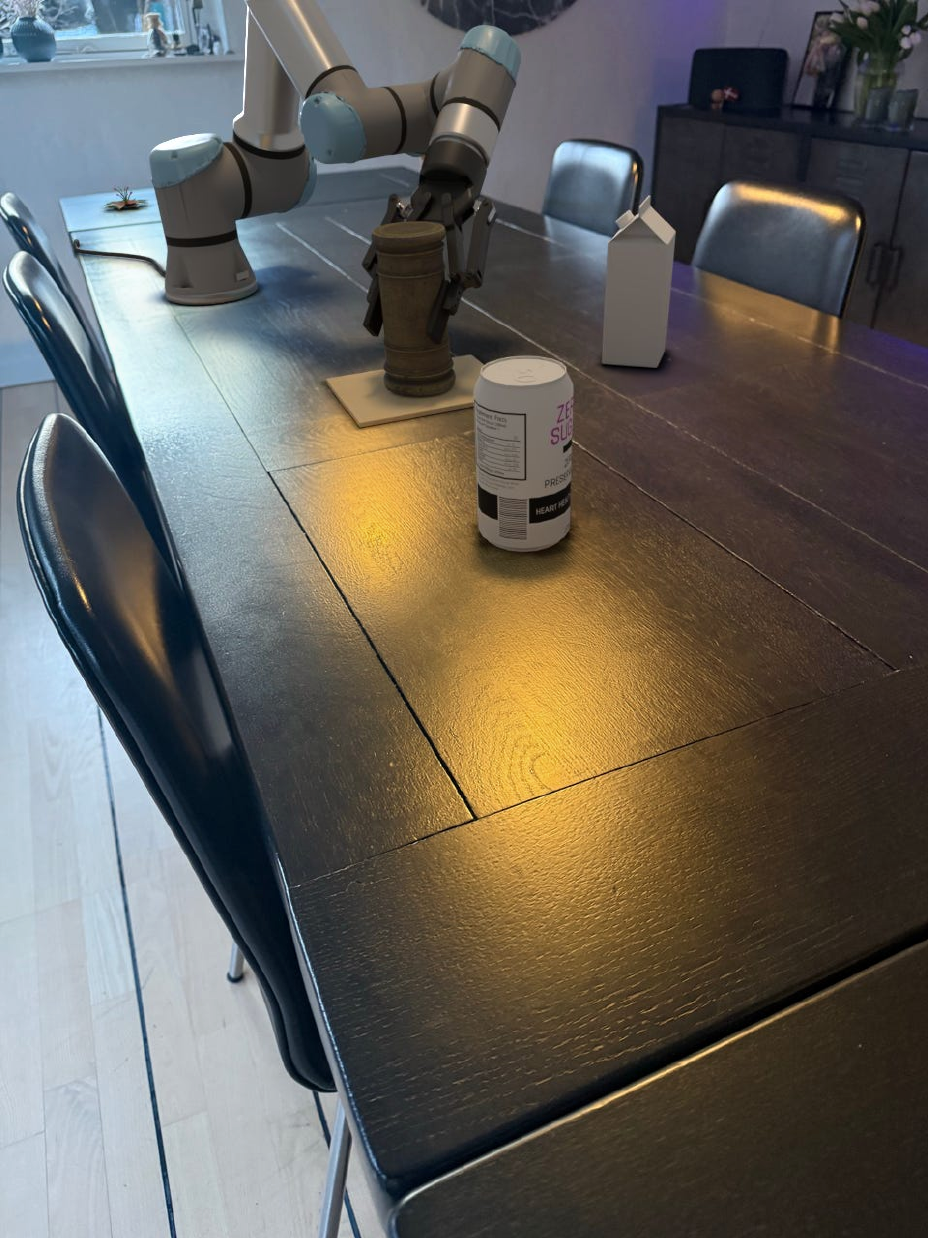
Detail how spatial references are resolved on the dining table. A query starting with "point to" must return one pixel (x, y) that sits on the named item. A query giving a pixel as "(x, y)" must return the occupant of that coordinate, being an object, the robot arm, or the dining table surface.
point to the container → (412, 307)
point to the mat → (380, 405)
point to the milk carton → (638, 289)
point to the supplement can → (523, 452)
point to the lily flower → (124, 201)
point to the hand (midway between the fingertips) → (401, 334)
